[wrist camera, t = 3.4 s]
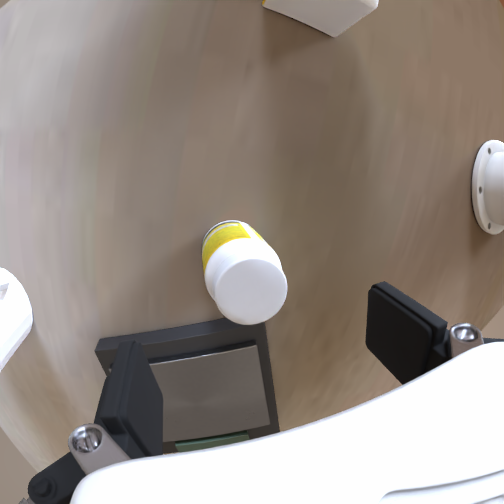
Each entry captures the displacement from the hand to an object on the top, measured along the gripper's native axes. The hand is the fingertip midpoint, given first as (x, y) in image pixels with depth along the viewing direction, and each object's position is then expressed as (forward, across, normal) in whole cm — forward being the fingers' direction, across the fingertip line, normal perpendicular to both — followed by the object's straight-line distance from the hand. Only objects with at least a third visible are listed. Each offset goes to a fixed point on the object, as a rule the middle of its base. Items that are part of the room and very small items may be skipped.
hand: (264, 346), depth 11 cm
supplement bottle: (+13, -1, 0) cm, 13 cm away
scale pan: (+11, +5, +13) cm, 18 cm away
